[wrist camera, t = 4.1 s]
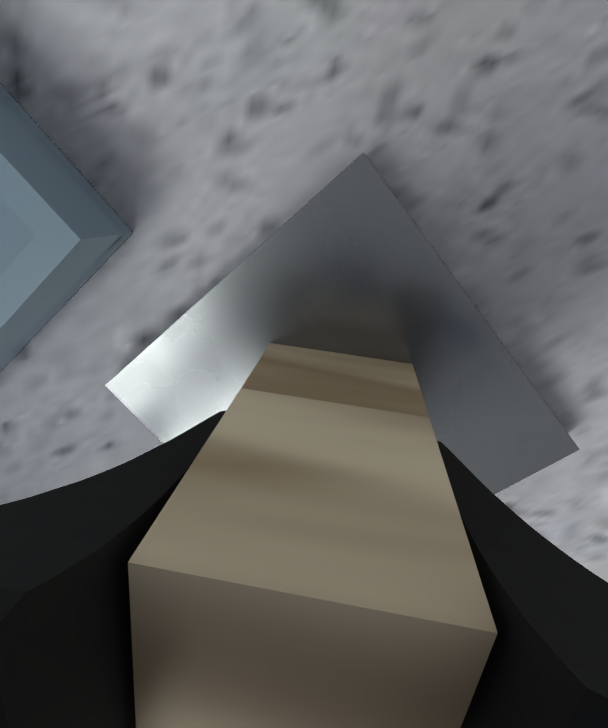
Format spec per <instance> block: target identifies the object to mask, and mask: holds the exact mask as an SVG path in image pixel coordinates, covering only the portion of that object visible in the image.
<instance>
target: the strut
mask: <svg viewBox="0 0 608 728" xmlns="http://www.w3.org/2000/svg"><path fill="white" fill-rule="evenodd" d="M128 575H129V595H130V616H131V636H132V656H133V677H134V697H135V717H136V728H461V725H462V723H463V720H464V718H465V715H466V713H467V710H468V707H469V705H470V702H471V700H472V697H473V695H474V692H475V690H476V687H477V685H478V682H479V679H480V677H481V674H482V672H483V669H484V667H485V664H486V662H487V659H488V656H489V654H490V651H491V649H492V646H493V644H494V641H495V639H496V636H497V630H496V626H495V623H494V620H493V617H492V614H491V611H490V608H489V604H488V601H487V598H486V595H485V592H484V589H483V585H482V582H481V579H480V576H479V573H478V570H477V566H476V563H475V560H474V557H473V554H472V551H471V548H470V544H469V541H468V538H467V535H466V532H465V529H464V525H463V522H462V519H461V516H460V513H459V510H458V506H457V503H456V500H455V497H454V494H453V491H452V487H451V484H450V481H449V478H448V475H447V472H446V469H445V465H444V462H443V459H442V456H441V453H440V450H439V446H438V443H437V440H436V437H435V434H434V431H433V427H432V424H431V421H430V418H429V415H428V412H427V409H426V405H425V402H424V399H423V396H422V393H421V390H420V386H419V383H418V380H417V377H416V374H415V371H414V367H413V364H410V363H404V362H397V361H390V360H383V359H376V358H370V357H363V356H356V355H349V354H342V353H336V352H329V351H322V350H315V349H308V348H301V347H295V346H288V345H281V344H274V343H270V344H269V346H268V347H267V349H266V350H265V352H264V354H263V355H262V357H261V358H260V360H259V361H258V363H257V364H256V366H255V367H254V369H253V370H252V372H251V374H250V375H249V377H248V378H247V380H246V381H245V383H244V384H243V386H242V387H241V389H240V390H239V392H238V394H237V395H236V397H235V398H234V400H233V401H232V403H231V404H230V406H229V407H228V409H227V410H226V412H225V414H224V415H223V417H222V418H221V420H220V421H219V423H218V424H217V426H216V427H215V429H214V430H213V432H212V434H211V435H210V437H209V438H208V440H207V441H206V443H205V444H204V446H203V447H202V449H201V450H200V452H199V454H198V455H197V457H196V458H195V460H194V461H193V463H192V464H191V466H190V467H189V469H188V471H187V472H186V474H185V475H184V477H183V478H182V480H181V481H180V483H179V484H178V486H177V487H176V489H175V491H174V492H173V494H172V495H171V497H170V498H169V500H168V501H167V503H166V504H165V506H164V507H163V509H162V511H161V512H160V514H159V515H158V517H157V518H156V520H155V521H154V523H153V524H152V526H151V527H150V529H149V531H148V532H147V534H146V535H145V537H144V538H143V540H142V541H141V543H140V544H139V546H138V547H137V549H136V551H135V552H134V554H133V555H132V557H131V558H130V560H129V561H128Z"/></svg>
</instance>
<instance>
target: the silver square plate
mask: <svg viewBox="0 0 608 728" xmlns="http://www.w3.org/2000/svg"><path fill="white" fill-rule="evenodd" d="M270 343H274V344H281V345H288V346H295V347H301V348H308V349H315V350H322V351H329V352H336V353H342V354H349V355H356V356H363V357H370V358H376V359H383V360H390V361H397V362H404V363H410V364H413V367H414V371H415V374H416V377H417V380H418V383H419V386H420V390H421V393H422V396H423V399H424V402H425V405H426V409H427V412H428V415H429V418H430V421H431V424H432V427H433V431H434V434H435V437H436V440H437V441H441V442H442V443H443V444H444V445H445V446H446V447H447V448H448V449H449V450H450V451H451V452H452V453H453V454H454V455H455V456H456V457H457V458H458V459H459V460H460V461H461V462H462V463H463V464H464V465H465V466H466V467H467V468H468V469H469V470H470V471H471V472H472V473H473V474H474V475H475V476H476V477H477V478H478V479H479V480H480V481H481V482H482V483H483V484H484V485H485V486H486V487H487V488H488V489H489V490H490V491H491V492H492V493H493V494H496V493H498V492H500V491H502V490H503V489H505V488H507V487H509V486H511V485H513V484H515V483H517V482H519V481H520V480H522V479H524V478H526V477H528V476H530V475H532V474H534V473H536V472H538V471H539V470H541V469H543V468H545V467H547V466H549V465H551V464H553V463H555V462H557V461H558V460H560V459H562V458H564V457H566V456H568V455H570V454H572V453H574V452H575V451H577V450H579V448H578V447H577V445H576V444H575V443H574V441H573V440H572V438H571V437H570V436H569V434H568V433H567V432H566V430H565V429H564V427H563V426H562V425H561V423H560V422H559V421H558V419H557V418H556V416H555V415H554V414H553V412H552V411H551V410H550V408H549V407H548V405H547V404H546V403H545V401H544V400H543V399H542V397H541V396H540V394H539V393H538V392H537V390H536V389H535V388H534V386H533V385H532V383H531V382H530V381H529V379H528V378H527V377H526V375H525V374H524V372H523V371H522V370H521V368H520V367H519V366H518V364H517V363H516V361H515V360H514V359H513V357H512V356H511V355H510V353H509V352H508V350H507V349H506V348H505V346H504V345H503V344H502V342H501V341H500V339H499V338H498V337H497V335H496V334H495V333H494V331H493V330H492V328H491V327H490V326H489V324H488V323H487V322H486V320H485V319H484V317H483V316H482V315H481V313H480V312H479V311H478V309H477V308H476V306H475V305H474V304H473V302H472V301H471V300H470V298H469V297H468V295H467V294H466V293H465V291H464V290H463V289H462V287H461V286H460V284H459V283H458V282H457V280H456V279H455V278H454V276H453V275H452V273H451V272H450V271H449V269H448V268H447V267H446V265H445V264H444V262H443V261H442V260H441V258H440V257H439V256H438V254H437V253H436V251H435V250H434V249H433V247H432V246H431V245H430V243H429V242H428V240H427V239H426V238H425V236H424V235H423V234H422V232H421V231H420V229H419V228H418V227H417V225H416V224H415V223H414V221H413V220H412V218H411V217H410V216H409V214H408V213H407V212H406V210H405V209H404V207H403V206H402V205H401V203H400V202H399V201H398V199H397V198H396V196H395V195H394V194H393V192H392V191H391V190H390V188H389V187H388V185H387V184H386V183H385V181H384V180H383V179H382V177H381V176H380V174H379V173H378V172H377V170H376V169H375V168H374V166H373V165H372V163H371V162H370V161H369V159H368V158H367V157H366V155H365V154H364V153H363V154H361V155H360V156H359V157H358V158H357V159H356V160H355V161H354V162H353V163H351V164H350V165H349V166H348V167H347V168H346V169H345V170H344V171H343V172H341V173H340V174H339V175H338V176H337V177H336V178H335V179H334V180H333V181H332V182H330V183H329V184H328V185H327V186H326V187H325V188H324V189H323V190H322V191H320V192H319V193H318V194H317V195H316V196H315V197H314V198H313V199H312V200H310V201H309V202H308V203H307V204H306V205H305V206H304V207H303V208H302V209H300V210H299V211H298V212H297V213H296V214H295V215H294V216H293V217H292V218H290V219H289V220H288V221H287V222H286V223H285V224H284V225H283V226H282V227H280V228H279V229H278V230H277V231H276V232H275V233H274V234H273V235H272V236H270V237H269V238H268V239H267V240H266V241H265V242H264V243H263V244H262V245H260V246H259V247H258V248H257V249H256V250H255V251H254V252H253V253H252V254H250V255H249V256H248V257H247V258H246V259H245V260H244V261H243V262H242V263H240V264H239V265H238V266H237V267H236V268H235V269H234V270H233V271H232V272H230V273H229V274H228V275H227V276H226V277H225V278H224V279H223V280H222V281H220V282H219V283H218V284H217V285H216V286H215V287H214V288H213V289H212V290H210V291H209V292H208V293H207V294H206V295H205V296H204V297H203V298H202V299H201V300H199V301H198V302H197V303H196V304H195V305H194V306H193V307H192V308H191V309H189V310H188V311H187V312H186V313H185V314H184V315H183V316H182V317H181V318H179V319H178V320H177V321H176V322H175V323H174V324H173V325H172V326H171V327H169V328H168V329H167V330H166V331H165V332H164V333H163V334H162V335H161V336H159V337H158V338H157V339H156V340H155V341H154V342H153V343H152V344H151V345H149V346H148V347H147V348H146V349H145V350H144V351H143V352H142V353H141V354H139V355H138V356H137V357H136V358H135V359H134V360H133V361H132V362H131V363H129V364H128V365H127V366H126V367H125V368H124V369H123V370H122V371H121V372H119V373H118V374H117V375H116V376H115V377H114V378H113V379H112V380H111V381H109V382H108V383H107V384H106V385H105V386H106V387H107V388H108V389H109V390H110V391H111V392H112V393H113V394H114V395H115V396H116V397H117V398H118V399H119V400H120V401H121V402H122V403H123V404H124V405H125V406H126V407H127V408H128V409H129V410H130V411H131V412H132V413H133V414H134V415H135V416H136V417H137V418H138V419H139V420H140V421H141V422H142V423H143V424H144V425H145V426H146V427H147V428H148V429H149V430H150V431H151V432H152V433H153V434H154V435H155V436H156V437H157V438H158V439H159V440H160V441H161V442H162V443H163V444H164V443H166V442H168V441H170V440H171V439H173V438H175V437H177V436H178V435H180V434H182V433H184V432H185V431H187V430H189V429H190V428H192V427H194V426H196V425H197V424H199V423H201V422H202V421H204V420H206V419H207V418H209V417H211V416H213V415H214V414H216V413H218V412H220V411H226V410H227V409H228V407H229V406H230V404H231V403H232V401H233V400H234V398H235V397H236V395H237V394H238V392H239V390H240V389H241V387H242V386H243V384H244V383H245V381H246V380H247V378H248V377H249V375H250V374H251V372H252V370H253V369H254V367H255V366H256V364H257V363H258V361H259V360H260V358H261V357H262V355H263V354H264V352H265V350H266V349H267V347H268V346H269V344H270Z"/></svg>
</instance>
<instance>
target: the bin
mask: <svg viewBox="0 0 608 728" xmlns="http://www.w3.org/2000/svg"><path fill="white" fill-rule="evenodd" d="M132 233H133V232H132V231H131V230H130V229H129V227H128V226H127V225H126V224H125V223H124V222H123V221H122V220H121V218H120V217H119V216H118V215H117V214H116V213H115V212H114V211H113V209H112V208H111V207H110V206H109V205H108V204H107V203H106V202H105V200H104V199H103V198H102V197H101V196H100V195H99V194H98V193H97V191H96V190H95V189H94V188H93V187H92V186H91V185H90V184H89V182H88V181H87V180H86V179H85V178H84V177H83V176H82V175H81V174H80V172H79V171H78V170H77V169H76V168H75V167H74V166H73V165H72V163H71V162H70V161H69V160H68V159H67V158H66V157H65V156H64V154H63V153H62V152H61V151H60V150H59V149H58V148H57V147H56V145H55V144H54V143H53V142H52V141H51V140H50V139H49V138H48V136H47V135H46V134H45V133H44V132H43V131H42V130H41V129H40V127H39V126H38V125H37V124H36V123H35V122H34V121H33V120H32V119H31V117H30V116H29V115H28V114H27V113H26V112H25V111H24V110H23V108H22V107H21V106H20V105H19V104H18V103H17V102H16V101H15V99H14V98H13V97H12V96H11V95H10V94H9V93H8V92H7V90H6V89H5V88H4V87H3V86H2V85H1V84H0V372H1V370H2V369H3V368H4V367H5V366H6V365H7V364H8V363H9V362H10V361H11V360H12V359H13V358H14V357H15V356H16V355H17V354H18V353H19V352H20V351H21V350H22V348H23V347H24V346H25V345H26V344H27V343H28V342H29V341H30V340H31V339H32V338H33V337H34V336H35V335H36V334H37V333H38V332H39V331H40V330H41V329H42V328H43V326H44V325H45V324H46V323H47V322H48V321H49V320H50V319H51V318H52V317H53V316H54V315H55V314H56V313H57V312H58V311H59V310H60V309H61V308H62V307H63V306H64V304H65V303H66V302H67V301H68V300H69V299H70V298H71V297H72V296H73V295H74V294H75V293H76V292H77V291H78V290H79V289H80V288H81V287H82V286H83V285H84V284H85V282H86V281H87V280H88V279H89V278H90V277H91V276H92V275H93V274H94V273H95V272H96V271H97V270H98V269H99V268H100V267H101V266H102V265H103V264H104V263H105V262H106V260H107V259H108V258H109V257H110V256H111V255H112V254H113V253H114V252H115V251H116V250H117V249H118V248H119V247H120V246H121V245H122V244H123V243H124V242H125V241H126V240H127V238H128V237H129V236H130V235H131V234H132Z"/></svg>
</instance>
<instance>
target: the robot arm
mask: <svg viewBox="0 0 608 728" xmlns="http://www.w3.org/2000/svg"><path fill="white" fill-rule="evenodd" d="M225 412H226V411H220V412H218V413H216V414H214V415H213V416H211V417H209V418H207V419H206V420H204V421H202V422H201V423H199V424H197V425H196V426H194V427H192V428H190V429H189V430H187V431H185V432H184V433H182V434H180V435H178V436H177V437H175V438H173V439H171V440H170V441H168V442H166V443H164V444H162V445H160V446H158V447H156V448H154V449H152V450H150V451H148V452H146V453H144V454H142V455H140V456H138V457H136V458H134V459H132V460H130V461H128V462H126V463H124V464H121V465H119V466H117V467H115V468H112V469H110V470H107V471H105V472H102V473H100V474H97V475H95V476H92V477H90V478H87V479H84V480H82V481H79V482H76V483H73V484H70V485H67V486H63V487H60V488H57V489H54V490H51V491H48V492H45V493H42V494H39V495H36V496H33V497H29V498H26V499H22V500H18V501H14V502H11V503H7V504H3V505H0V728H136V717H135V697H134V677H133V656H132V636H131V616H130V595H129V575H128V561H129V560H130V558H131V557H132V555H133V554H134V552H135V551H136V549H137V547H138V546H139V544H140V543H141V541H142V540H143V538H144V537H145V535H146V534H147V532H148V531H149V529H150V527H151V526H152V524H153V523H154V521H155V520H156V518H157V517H158V515H159V514H160V512H161V511H162V509H163V507H164V506H165V504H166V503H167V501H168V500H169V498H170V497H171V495H172V494H173V492H174V491H175V489H176V487H177V486H178V484H179V483H180V481H181V480H182V478H183V477H184V475H185V474H186V472H187V471H188V469H189V467H190V466H191V464H192V463H193V461H194V460H195V458H196V457H197V455H198V454H199V452H200V450H201V449H202V447H203V446H204V444H205V443H206V441H207V440H208V438H209V437H210V435H211V434H212V432H213V430H214V429H215V427H216V426H217V424H218V423H219V421H220V420H221V418H222V417H223V415H224V414H225ZM437 443H438V446H439V450H440V453H441V456H442V459H443V462H444V465H445V469H446V472H447V475H448V478H449V481H450V484H451V487H452V491H453V494H454V497H455V500H456V503H457V506H458V510H459V513H460V516H461V519H462V522H463V525H464V529H465V532H466V535H467V538H468V541H469V544H470V548H471V551H472V554H473V557H474V560H475V563H476V566H477V570H478V573H479V576H480V579H481V582H482V585H483V589H484V592H485V595H486V598H487V601H488V604H489V608H490V611H491V614H492V617H493V620H494V623H495V626H496V630H497V636H496V639H495V641H494V644H493V646H492V649H491V651H490V654H489V656H488V659H487V662H486V664H485V667H484V669H483V672H482V674H481V677H480V679H479V682H478V685H477V687H476V690H475V692H474V695H473V697H472V700H471V702H470V705H469V707H468V710H467V713H466V715H465V718H464V720H463V723H462V725H461V728H608V583H607V582H606V581H604V580H603V579H601V578H600V577H598V576H596V575H595V574H594V573H592V572H591V571H589V570H588V569H586V568H585V567H583V566H582V565H581V564H579V563H578V562H576V561H575V560H573V559H572V558H571V557H569V556H568V555H567V554H565V553H564V552H563V551H561V550H560V549H559V548H557V547H556V546H555V545H553V544H552V543H551V542H549V541H548V540H547V539H545V538H544V537H543V536H541V535H540V534H539V533H538V532H536V531H535V530H534V529H533V528H532V527H530V526H529V525H528V524H527V523H526V522H524V521H523V520H522V519H521V518H520V517H519V516H518V515H516V514H515V513H514V512H513V511H512V510H511V509H509V508H508V507H507V506H506V505H505V504H504V503H503V502H502V501H501V500H500V499H498V498H497V497H496V496H495V495H494V494H493V493H492V492H491V491H490V490H489V489H488V488H487V487H486V486H485V485H484V484H483V483H482V482H481V481H480V480H479V479H478V478H477V477H476V476H475V475H474V474H473V473H472V472H471V471H470V470H469V469H468V468H467V467H466V466H465V465H464V464H463V463H462V462H461V461H460V460H459V459H458V458H457V457H456V456H455V455H454V454H453V453H452V452H451V451H450V450H449V449H448V448H447V447H446V446H445V445H444V444H443V443H442V442H441V441H437Z"/></svg>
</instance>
